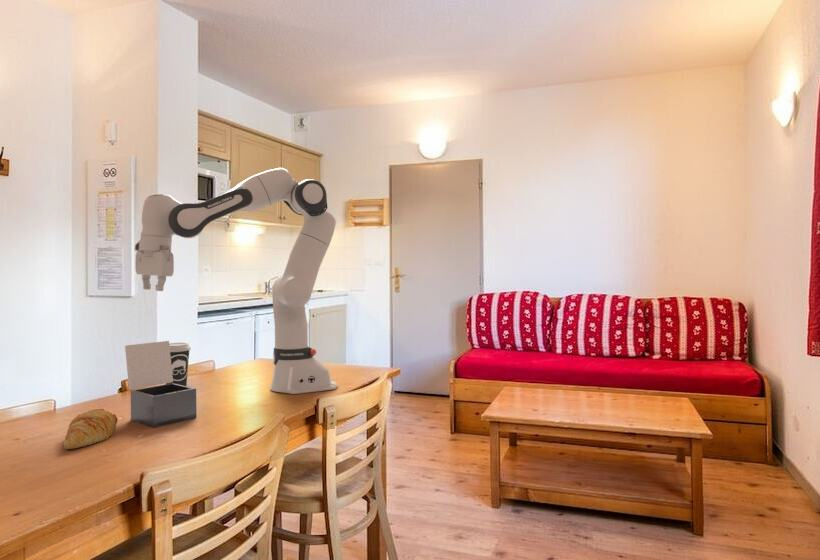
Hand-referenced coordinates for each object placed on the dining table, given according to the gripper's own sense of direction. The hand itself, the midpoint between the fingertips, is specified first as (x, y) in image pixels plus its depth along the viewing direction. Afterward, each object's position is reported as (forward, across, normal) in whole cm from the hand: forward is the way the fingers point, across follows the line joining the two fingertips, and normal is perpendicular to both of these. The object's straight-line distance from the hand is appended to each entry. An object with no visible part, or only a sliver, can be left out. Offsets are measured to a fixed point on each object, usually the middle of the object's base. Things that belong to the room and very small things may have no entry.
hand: (152, 290), depth 165 cm
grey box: (+34, -25, +5) cm, 42 cm away
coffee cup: (+34, +13, -16) cm, 40 cm away
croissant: (+36, -28, +24) cm, 51 cm away
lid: (+20, -17, +6) cm, 27 cm away
